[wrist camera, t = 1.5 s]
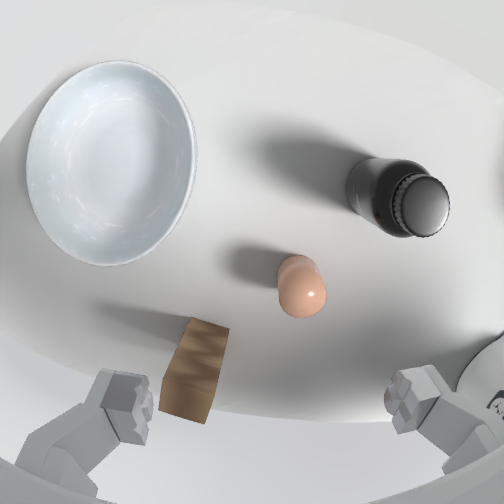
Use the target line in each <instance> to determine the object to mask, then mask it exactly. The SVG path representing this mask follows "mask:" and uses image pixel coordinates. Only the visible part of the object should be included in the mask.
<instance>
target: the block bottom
mask: <svg viewBox="0 0 504 504" xmlns="http://www.w3.org/2000/svg"><path fill="white" fill-rule="evenodd" d="M184 334H185V335H188V336H191V337H194V338H197V339H201V340H204V341H207V342H210V343H214V344H217V345H221V346H224V347H226V342H227V338H228V334H229V328H225V327H222V326H218V325H215V324H212V323H209V322H205V321H202V320H199V319H196V318H193V317H191V319H190V321H189V323H188V325H187V328H186V330H185V332H184Z"/></svg>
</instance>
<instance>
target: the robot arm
mask: <svg viewBox="0 0 504 504" xmlns="http://www.w3.org/2000/svg"><path fill="white" fill-rule="evenodd" d="M392 381H393V383H392V384H391V385H390V386H388V387H387V389H386V392H385V394H384V404H385V408H386V410H387V412H389V413H390V414H392V415H393V418H392V423H393V425H394V427H395V429H396V431H397V433H398V434H402V433H406V432H410V431H414V430H417V431H418V432H419V433H420V434H422V435H423V436H424V437H425V438H427V439H428V440H429V441H431V442H432V443H433V444H434V445H436V446H437V447H438V448H439V449H441V450H442V451H443V452H445V453H446V454H447V455H448V456H450V458H449V459H448V460H447V461H446V462H445V463H444V464H443V466H442V470H443V471H444V474H445V476H443V477H440V478H438V479H436V480H434V481H431V482H429V483H426V484H424V485H421V486H418V487H416V488H413V489H410V490H408V491H405V492H402V493H399V494H395V495H392V496H389V497H386V498H382V499H379V500H375V501H372V502H368V503H364V504H504V334H503V335H502V337H501V338H499V339H498V340H496V341H494V342H493V343H491V344H490V345H488V346H487V347H485V348H484V349H483V350H482V351H481V352H480V353H479V354H478V355H477V356H476V357H475V358H474V359H473V360H472V361H471V362H470V364H469V365H468V366H467V368H466V369H465V371H464V372H463V374H462V376H461V378H460V380H459V382H458V385H457V390H456V392H452V390H451V389H450V388H449V386H448V385H447V383H446V382H445V380H444V379H443V378H442V376H441V375H440V373H439V372H438V371H437V369H436V368H435V367H434V366H433V365H431V364H429V365H425V366H420V367H414V368H409V369H403V370H398V371H396V372H395V373H394V374H393V376H392ZM148 386H149V381H148V377H147V376H145V375H139V374H133V373H126V372H121V371H114V370H108V369H102V370H100V371H99V373H98V375H97V377H96V379H95V381H94V383H93V385H92V388H91V390H90V392H89V394H88V397H87V398H86V401H85V403H84V404H82V403H80V404H78V405H76V406H74V407H73V408H71V409H70V410H68V411H66V412H65V413H63V414H62V415H60V416H58V417H57V418H55V419H53V420H52V421H50V422H49V423H47V424H45V425H44V426H42V427H40V428H39V429H37V430H35V431H34V432H32V433H31V434H29V435H28V437H27V439H26V441H25V443H24V445H23V447H22V449H21V451H20V453H19V456H18V458H17V460H16V462H15V464H14V465H13V464H11V463H9V462H8V461H6V460H4V459H2V458H0V504H116V503H112V502H108V501H104V500H100V499H97V498H96V495H97V490H98V488H97V486H96V485H95V483H93V481H92V480H91V479H90V478H89V477H88V476H87V474H88V473H89V472H90V471H91V470H92V469H93V468H94V467H95V466H96V465H98V464H99V463H100V462H101V461H102V460H103V459H104V458H105V457H106V456H107V455H108V454H109V453H110V452H112V451H113V450H114V449H115V448H116V447H117V446H118V445H119V444H120V442H124V443H130V444H136V445H143V446H145V443H146V440H147V435H148V431H149V429H148V426H147V422H148V421H150V420H151V418H152V413H153V397H152V393H151V392H150V391H149V390H148Z"/></svg>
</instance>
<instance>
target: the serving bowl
mask: <svg viewBox="0 0 504 504" xmlns="http://www.w3.org/2000/svg"><path fill="white" fill-rule="evenodd" d="M197 158H198V151H197V140H196V134H195V129H194V125H193V122H192V119H191V116H190V113H189V111H188V109H187V107H186V105H185V103H184V101H183V100H182V98H181V96H180V95H179V93H178V92H177V91H176V89H175V88H174V87H173V86H172V85H171V83H170V82H169V81H167V80H166V79H165V78H164V77H163V76H162V75H160V74H159V73H157V72H156V71H154V70H153V69H151V68H149V67H147V66H144V65H142V64H139V63H135V62H130V61H107V62H102V63H98V64H95V65H92V66H90V67H87V68H85V69H83V70H81V71H79V72H78V73H76V74H75V75H73V76H72V77H71V78H69V79H68V80H67V81H65V82H64V83H63V84H62V85H61V86H60V87H59V88H58V89H57V90H56V91H55V92H54V94H53V95H52V96H51V97H50V99H49V100H48V101H47V103H46V104H45V106H44V107H43V109H42V111H41V113H40V114H39V116H38V118H37V120H36V123H35V125H34V128H33V131H32V133H31V137H30V140H29V145H28V150H27V158H26V182H27V189H28V195H29V199H30V202H31V205H32V208H33V211H34V213H35V216H36V218H37V220H38V222H39V224H40V225H41V227H42V229H43V230H44V231H45V233H46V234H47V235H48V237H49V238H50V239H51V240H52V241H53V242H54V244H55V245H56V246H58V247H59V248H60V249H61V250H62V251H63V252H65V253H66V254H68V255H69V256H71V257H73V258H75V259H77V260H79V261H81V262H84V263H87V264H90V265H95V266H108V267H111V266H119V265H124V264H127V263H130V262H133V261H136V260H138V259H140V258H142V257H144V256H145V255H147V254H148V253H150V252H151V251H153V250H154V249H155V248H156V247H157V246H159V245H160V244H161V243H162V242H163V241H164V240H165V239H166V237H167V236H168V235H169V234H170V233H171V231H172V230H173V228H174V227H175V226H176V224H177V222H178V221H179V219H180V218H181V216H182V214H183V212H184V210H185V208H186V206H187V204H188V201H189V199H190V196H191V193H192V190H193V186H194V183H195V178H196V171H197Z"/></svg>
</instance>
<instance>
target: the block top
mask: <svg viewBox="0 0 504 504" xmlns="http://www.w3.org/2000/svg"><path fill="white" fill-rule="evenodd" d="M219 373H220V368H216V367H213V366H209V365H206V364H203V363H199V362H196V361H193V360H190V359H186V358H183V357H180V356H177V355H173V358H172V360H171V362H170V364H169V366H168V369H167V371H166V373H165V375H164V377H163V381H162V388H161V394H160V401H159V408H158V410H159V411H163V412H166V413H168V414H171V415H174V416H178V417H181V418H184V419H187V420H191V421H194V422H198V423H201V424H205V422H206V419H207V416H208V413H209V410H210V407H211V404H212V401H213V398H214V395H215V391H216V387H217V382H218V378H219Z"/></svg>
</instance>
